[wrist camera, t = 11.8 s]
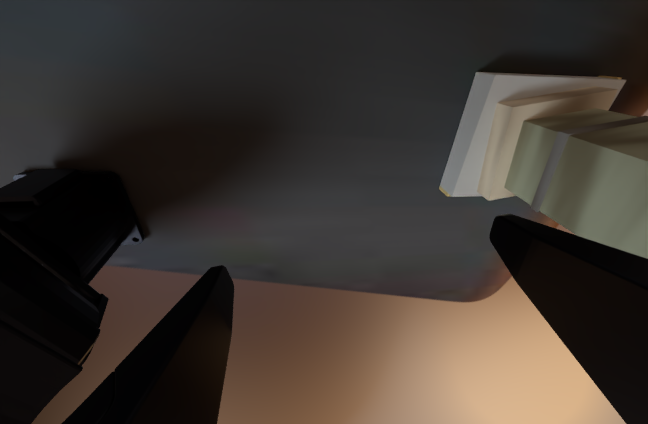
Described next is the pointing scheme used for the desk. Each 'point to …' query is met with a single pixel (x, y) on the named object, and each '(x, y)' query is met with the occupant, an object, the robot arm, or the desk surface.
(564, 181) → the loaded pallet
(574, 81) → the plate
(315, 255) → the desk surface
